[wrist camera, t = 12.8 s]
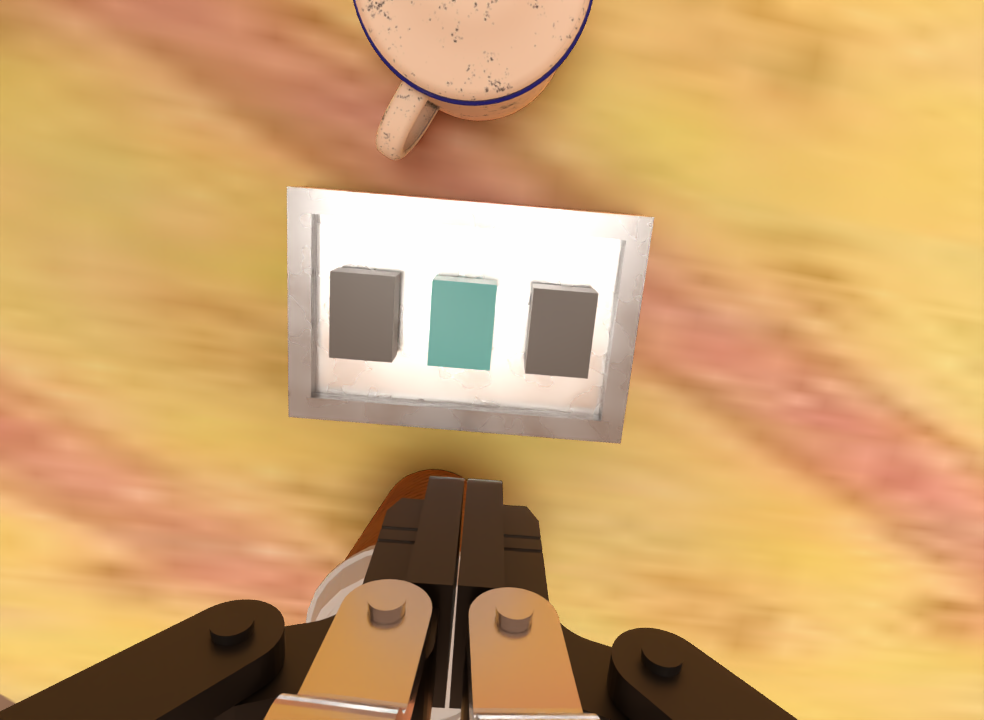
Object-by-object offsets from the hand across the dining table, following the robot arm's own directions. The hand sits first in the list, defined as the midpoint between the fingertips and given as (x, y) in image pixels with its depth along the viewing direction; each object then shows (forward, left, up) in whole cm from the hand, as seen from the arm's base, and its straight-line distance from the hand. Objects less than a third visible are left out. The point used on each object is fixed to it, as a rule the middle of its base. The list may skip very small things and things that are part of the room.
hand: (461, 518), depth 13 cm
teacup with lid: (-13, -2, -23) cm, 26 cm away
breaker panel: (0, -1, -23) cm, 23 cm away
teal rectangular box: (0, -1, -20) cm, 20 cm away
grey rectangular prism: (0, -6, -20) cm, 20 cm away
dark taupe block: (0, +4, -20) cm, 20 cm away
